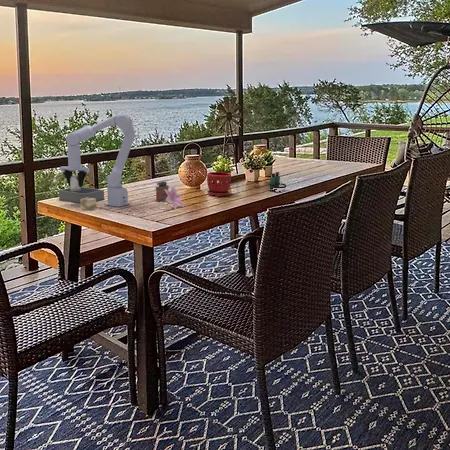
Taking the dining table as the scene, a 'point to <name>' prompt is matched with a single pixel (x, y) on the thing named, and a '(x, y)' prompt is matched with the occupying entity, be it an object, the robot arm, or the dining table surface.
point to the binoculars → (275, 181)
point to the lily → (174, 197)
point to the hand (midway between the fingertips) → (75, 186)
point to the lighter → (161, 191)
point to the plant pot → (220, 187)
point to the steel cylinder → (74, 183)
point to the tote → (80, 194)
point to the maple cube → (88, 203)
